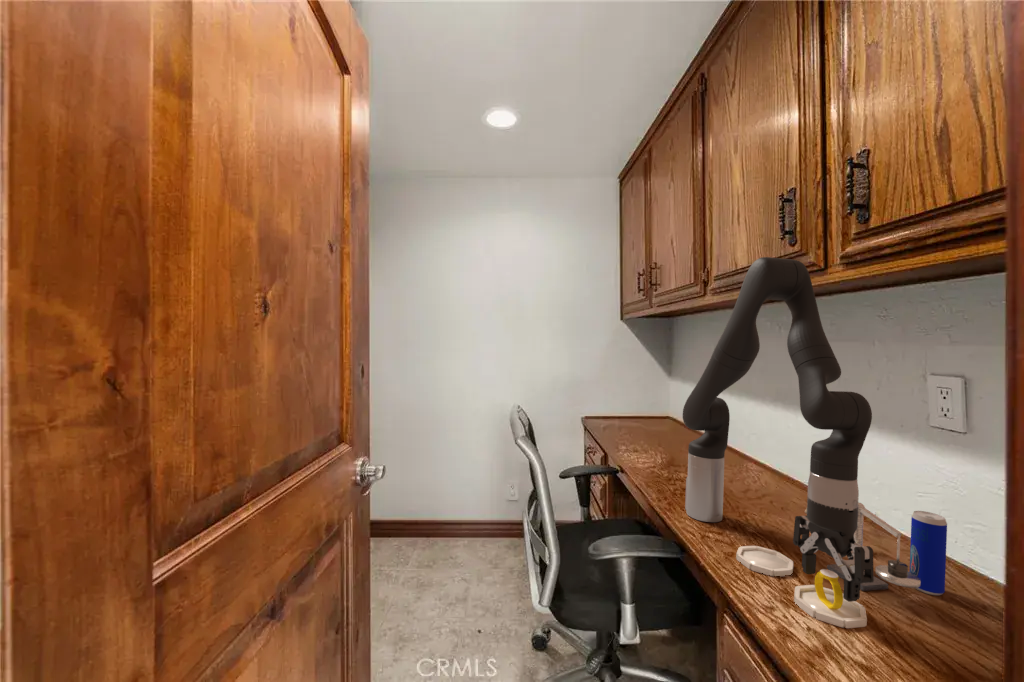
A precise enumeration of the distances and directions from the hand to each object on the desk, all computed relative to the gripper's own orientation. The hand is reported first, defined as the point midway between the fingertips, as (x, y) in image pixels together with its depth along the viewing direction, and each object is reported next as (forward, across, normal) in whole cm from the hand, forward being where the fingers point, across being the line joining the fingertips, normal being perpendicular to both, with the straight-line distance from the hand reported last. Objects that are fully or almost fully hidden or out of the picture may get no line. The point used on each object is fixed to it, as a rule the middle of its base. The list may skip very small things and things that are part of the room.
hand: (828, 586), depth 79 cm
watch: (+4, 0, 0) cm, 4 cm away
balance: (+4, -8, +15) cm, 17 cm away
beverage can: (+4, -3, +26) cm, 27 cm away
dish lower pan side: (+4, 0, 0) cm, 4 cm away
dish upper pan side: (+4, -16, 0) cm, 16 cm away
